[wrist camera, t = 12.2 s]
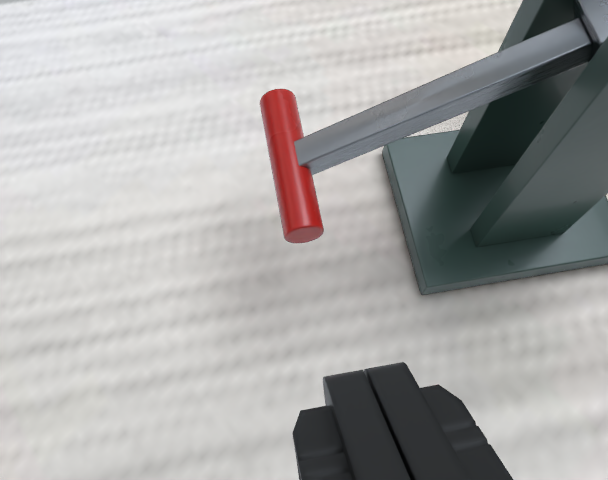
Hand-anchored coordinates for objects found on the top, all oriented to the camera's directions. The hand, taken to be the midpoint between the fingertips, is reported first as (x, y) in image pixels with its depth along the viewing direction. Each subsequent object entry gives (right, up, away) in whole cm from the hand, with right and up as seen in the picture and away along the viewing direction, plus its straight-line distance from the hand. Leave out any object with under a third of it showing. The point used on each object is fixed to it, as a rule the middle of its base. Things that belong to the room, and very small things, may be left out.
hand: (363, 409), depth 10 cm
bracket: (+9, +5, +18) cm, 21 cm away
